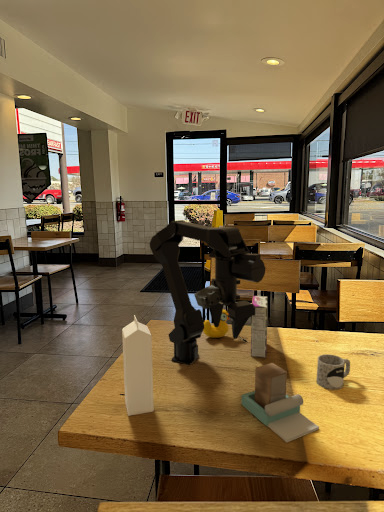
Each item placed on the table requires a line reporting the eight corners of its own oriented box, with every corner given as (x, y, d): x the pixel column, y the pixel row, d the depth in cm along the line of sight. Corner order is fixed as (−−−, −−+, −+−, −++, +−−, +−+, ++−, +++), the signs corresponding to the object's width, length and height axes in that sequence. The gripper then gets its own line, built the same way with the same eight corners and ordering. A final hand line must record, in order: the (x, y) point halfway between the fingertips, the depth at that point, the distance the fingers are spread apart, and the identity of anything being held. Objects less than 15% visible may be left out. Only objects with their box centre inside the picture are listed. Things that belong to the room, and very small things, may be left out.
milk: (128, 416, 84) (123, 324, 80) (125, 401, 90) (120, 315, 86) (154, 411, 86) (151, 321, 82) (149, 397, 91) (146, 312, 87)
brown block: (254, 406, 87) (255, 367, 86) (271, 401, 90) (272, 362, 88) (268, 418, 83) (269, 377, 81) (285, 412, 85) (287, 372, 83)
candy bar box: (251, 342, 124) (252, 295, 121) (266, 343, 123) (268, 296, 120) (249, 357, 113) (250, 305, 110) (266, 358, 112) (268, 306, 109)
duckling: (230, 332, 133) (230, 305, 131) (236, 337, 128) (236, 310, 126) (200, 335, 130) (200, 308, 128) (205, 341, 125) (205, 313, 123)
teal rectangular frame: (241, 404, 88) (241, 385, 87) (272, 394, 93) (273, 376, 92) (285, 443, 75) (286, 421, 74) (319, 428, 79) (321, 408, 78)
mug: (329, 392, 93) (330, 367, 92) (311, 380, 99) (312, 357, 98) (358, 383, 97) (360, 360, 96) (339, 372, 103) (340, 350, 102)
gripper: (182, 272, 100) (183, 326, 103) (218, 288, 84) (218, 352, 87) (217, 268, 105) (217, 319, 108) (257, 282, 89) (256, 342, 92)
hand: (225, 332), depth 99 cm, fingers open, 9 cm apart
